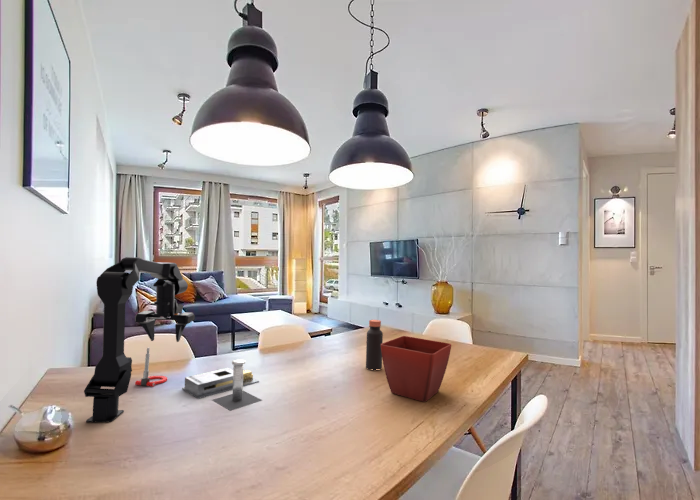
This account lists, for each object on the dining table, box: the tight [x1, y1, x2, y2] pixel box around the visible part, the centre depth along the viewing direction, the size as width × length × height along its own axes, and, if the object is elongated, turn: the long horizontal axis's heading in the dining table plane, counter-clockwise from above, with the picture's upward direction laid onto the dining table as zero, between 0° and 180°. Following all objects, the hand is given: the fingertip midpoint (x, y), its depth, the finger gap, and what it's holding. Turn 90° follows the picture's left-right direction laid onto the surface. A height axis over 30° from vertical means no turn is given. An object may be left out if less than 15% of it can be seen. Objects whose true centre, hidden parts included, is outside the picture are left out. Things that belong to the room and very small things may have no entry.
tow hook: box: [134, 347, 168, 388], centre depth 123 cm, size 8×13×9 cm
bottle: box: [365, 319, 384, 371], centre depth 146 cm, size 7×7×20 cm
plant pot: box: [381, 335, 452, 402], centre depth 120 cm, size 19×19×17 cm
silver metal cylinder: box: [231, 358, 246, 402], centre depth 108 cm, size 4×4×12 cm
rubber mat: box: [212, 390, 263, 412], centre depth 108 cm, size 11×11×1 cm
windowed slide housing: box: [181, 367, 260, 400], centre depth 120 cm, size 22×12×4 cm, turn 138°
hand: (165, 341), depth 123 cm, fingers open, 9 cm apart
